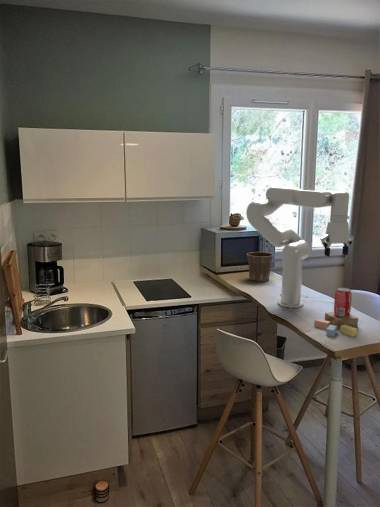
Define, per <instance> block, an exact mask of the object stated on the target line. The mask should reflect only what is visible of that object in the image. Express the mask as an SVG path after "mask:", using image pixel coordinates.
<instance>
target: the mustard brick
mask: <svg viewBox="0 0 380 507" xmlns="http://www.w3.org/2000/svg"><path fill="white" fill-rule="evenodd" d="M339 333H342V334H345V335H346V336H350V337H357V333H358V328H357V327H351V326H348V325H342V326H341V327H340V329H339Z"/></svg>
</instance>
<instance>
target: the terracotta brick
mask: <svg viewBox="0 0 380 507" xmlns="http://www.w3.org/2000/svg"><path fill="white" fill-rule="evenodd" d="M330 323H331V322H330V321H326V320H325V319H321V318H316V319H314V324H313V326H314V327H316V328H320V329H324V330H327V328H328V327H329V325H330Z"/></svg>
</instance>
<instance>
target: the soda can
mask: <svg viewBox="0 0 380 507" xmlns="http://www.w3.org/2000/svg"><path fill="white" fill-rule="evenodd" d="M334 293H335V294H334V302H333V312H334V314H336V315H337V316H339V317H347V316H349V315H350V314H351V309H352V297H353V296H352V295H353V293H352V292H351V288H349V287H337V288H336V291H335V292H334Z"/></svg>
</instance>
